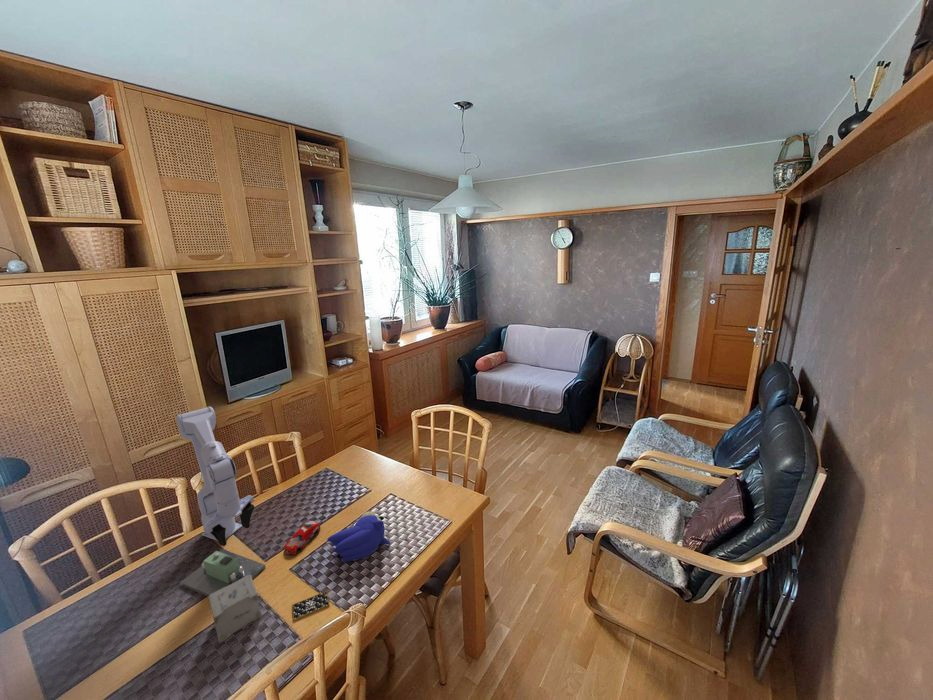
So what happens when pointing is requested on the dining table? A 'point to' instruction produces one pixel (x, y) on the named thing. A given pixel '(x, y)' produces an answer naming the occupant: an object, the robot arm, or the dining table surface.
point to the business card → (310, 605)
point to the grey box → (234, 607)
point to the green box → (221, 566)
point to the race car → (302, 537)
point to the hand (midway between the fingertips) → (234, 535)
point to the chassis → (210, 584)
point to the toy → (360, 538)
